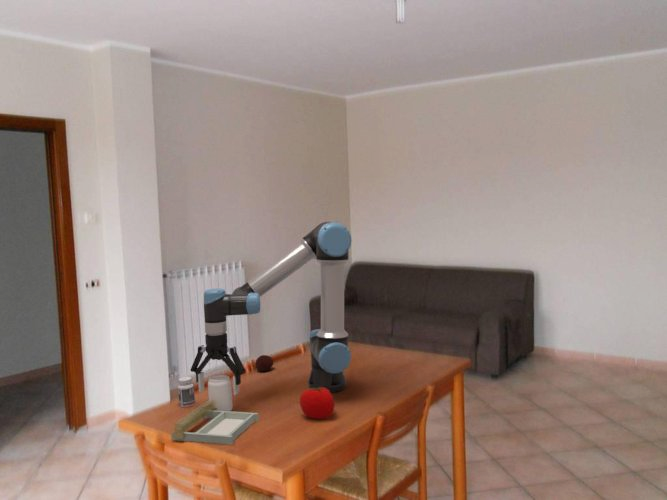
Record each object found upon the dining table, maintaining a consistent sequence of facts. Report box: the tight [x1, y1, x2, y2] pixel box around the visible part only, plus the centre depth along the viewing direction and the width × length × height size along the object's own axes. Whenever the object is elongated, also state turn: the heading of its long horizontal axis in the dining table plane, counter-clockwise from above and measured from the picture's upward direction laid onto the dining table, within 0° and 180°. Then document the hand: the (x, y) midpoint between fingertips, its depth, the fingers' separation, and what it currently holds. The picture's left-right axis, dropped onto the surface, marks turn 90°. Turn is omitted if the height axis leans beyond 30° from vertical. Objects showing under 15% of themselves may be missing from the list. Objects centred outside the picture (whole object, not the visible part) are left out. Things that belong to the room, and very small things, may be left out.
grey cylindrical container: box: [207, 374, 233, 411], centre depth 208 cm, size 8×8×12 cm
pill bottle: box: [177, 376, 196, 408], centre depth 216 cm, size 6×6×10 cm
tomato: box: [299, 387, 335, 420], centre depth 198 cm, size 11×13×10 cm
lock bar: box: [171, 399, 217, 439], centre depth 193 cm, size 4×23×4 cm, turn 164°
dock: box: [170, 410, 259, 446], centre depth 191 cm, size 21×20×2 cm
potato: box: [255, 354, 274, 372], centre depth 256 cm, size 7×8×7 cm
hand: (218, 392), depth 207 cm, fingers open, 13 cm apart
